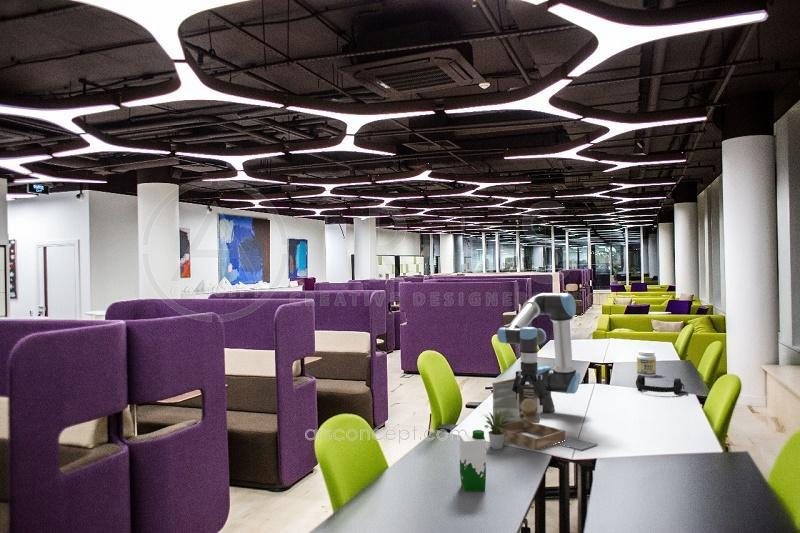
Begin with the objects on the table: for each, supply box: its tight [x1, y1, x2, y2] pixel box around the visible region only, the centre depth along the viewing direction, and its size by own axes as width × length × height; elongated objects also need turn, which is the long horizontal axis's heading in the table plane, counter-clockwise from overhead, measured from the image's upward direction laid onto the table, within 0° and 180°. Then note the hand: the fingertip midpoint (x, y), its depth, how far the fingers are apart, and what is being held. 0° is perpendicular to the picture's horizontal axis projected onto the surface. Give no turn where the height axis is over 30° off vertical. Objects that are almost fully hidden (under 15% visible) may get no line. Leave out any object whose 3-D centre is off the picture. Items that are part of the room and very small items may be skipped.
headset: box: [635, 374, 686, 395], centre depth 357 cm, size 28×26×9 cm
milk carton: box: [459, 429, 487, 493], centre depth 206 cm, size 9×9×20 cm
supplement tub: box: [636, 350, 657, 378], centre depth 407 cm, size 12×12×17 cm
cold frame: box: [492, 376, 566, 451], centre depth 263 cm, size 25×20×25 cm
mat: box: [557, 437, 598, 452], centre depth 254 cm, size 12×12×1 cm
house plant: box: [482, 410, 514, 450], centre depth 251 cm, size 14×14×16 cm
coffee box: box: [519, 383, 541, 424], centre depth 263 cm, size 9×6×16 cm
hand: (529, 409), depth 263 cm, fingers closed on coffee box, 11 cm apart
